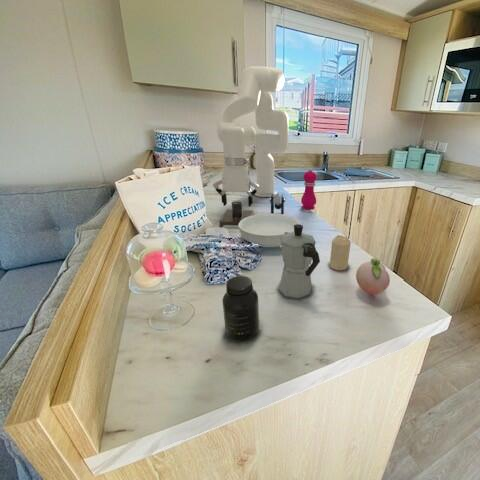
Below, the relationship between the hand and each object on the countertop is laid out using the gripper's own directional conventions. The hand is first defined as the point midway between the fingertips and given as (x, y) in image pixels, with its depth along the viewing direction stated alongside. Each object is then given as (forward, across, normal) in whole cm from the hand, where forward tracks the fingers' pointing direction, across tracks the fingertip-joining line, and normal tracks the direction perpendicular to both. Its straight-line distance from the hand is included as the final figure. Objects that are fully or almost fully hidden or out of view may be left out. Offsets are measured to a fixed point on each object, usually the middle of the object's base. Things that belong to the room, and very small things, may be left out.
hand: (237, 205), depth 110 cm
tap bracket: (+7, -16, +2) cm, 17 cm away
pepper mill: (+7, -30, -17) cm, 35 cm away
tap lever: (+1, -16, -2) cm, 16 cm away
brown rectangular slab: (+7, 0, +1) cm, 7 cm away
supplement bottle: (+5, -11, +63) cm, 64 cm away
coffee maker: (+6, -23, +49) cm, 54 cm away
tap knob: (+4, 0, +1) cm, 4 cm away
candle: (+6, -36, +36) cm, 51 cm away
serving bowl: (+6, -14, +19) cm, 24 cm away
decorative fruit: (+6, -42, +50) cm, 66 cm away
